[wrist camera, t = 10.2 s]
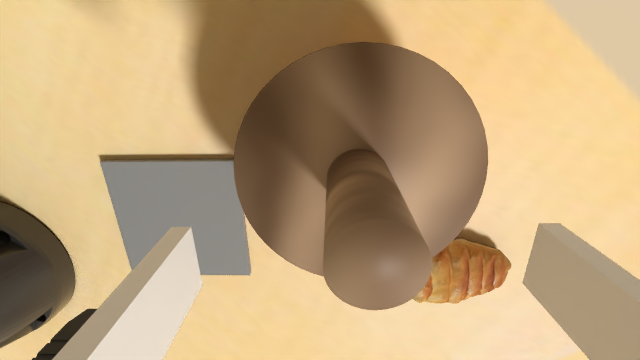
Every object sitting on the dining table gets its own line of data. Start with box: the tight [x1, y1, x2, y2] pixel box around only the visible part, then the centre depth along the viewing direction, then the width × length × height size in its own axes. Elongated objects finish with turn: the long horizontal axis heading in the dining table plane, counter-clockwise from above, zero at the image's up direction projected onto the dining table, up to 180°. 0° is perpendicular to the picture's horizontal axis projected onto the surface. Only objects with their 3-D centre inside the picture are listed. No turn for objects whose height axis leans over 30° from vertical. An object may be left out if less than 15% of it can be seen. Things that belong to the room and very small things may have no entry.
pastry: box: [413, 238, 511, 303], centre depth 29 cm, size 9×7×4 cm
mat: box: [100, 159, 251, 275], centre depth 29 cm, size 12×12×1 cm
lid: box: [234, 42, 488, 310], centre depth 16 cm, size 16×16×10 cm
